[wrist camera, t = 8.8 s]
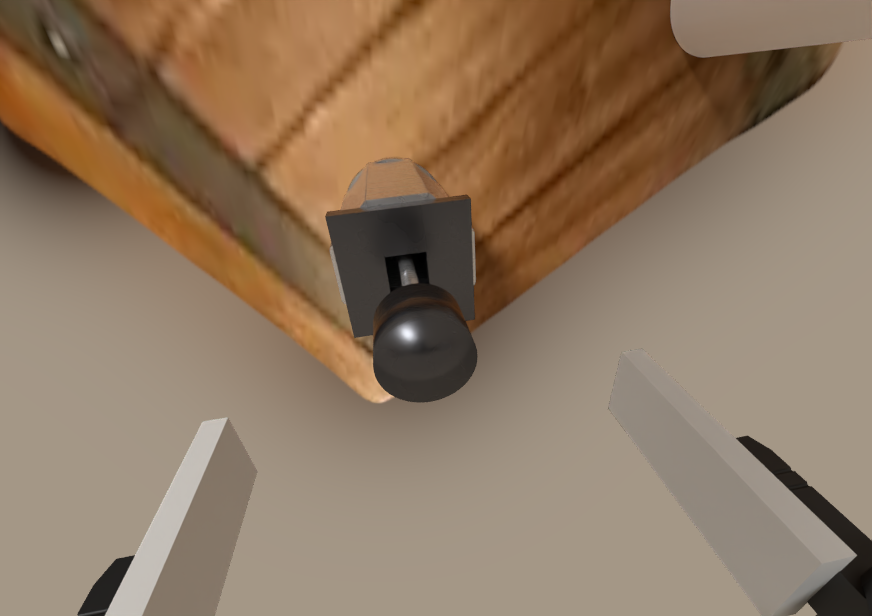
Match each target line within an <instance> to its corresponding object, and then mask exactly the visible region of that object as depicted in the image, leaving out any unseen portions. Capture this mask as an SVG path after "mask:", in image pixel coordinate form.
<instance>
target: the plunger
mask: <svg viewBox="0 0 872 616" xmlns="http://www.w3.org/2000/svg"><path fill="white" fill-rule="evenodd" d="M420 253H421V252H420ZM420 253H413V254H405V255H398V256H390V257H385V258H386V259H389V260H398V263H399V270H400V276H401V282H402V287H400V288H397V289H395V290H394V291H392V292H391V293H389V294H388V295H387V296H386V297H385V298H384V299H383V300H382V301H381V302H380V304H379V305H378V307H377V309H376V311H375V314H374V319H373V368H374V373H375V377H376V379H377V381H378V383H379V384H380V385H381V387H382V388H383V389H384V390H385V391H387V392H388V393H389V394H391V395H393V396H394V397H397V398H399V399H402V400H405V401H410V402H430V401H435V400H439V399H442V398H445V397H447V396H449V395H451V394H453V393H455V392H456V391H457V390H459V389H460V388H461V387H462V386H464V385H465V384H466V382H467V381H468V380H469V379H470V377H471V376H472V374H473V372H474V370H475V367H476V363H477V349H476V346H475V343H474V341H473V338H472V336H471V333H470V331H469V328H468V326H467V324H466V321H465V319H464V316H463V314H462V312H461V309H460V307H459V305H458V303H457V301H456V300H455V298H454V297H453V296H452V295H451V294H450V293H449V292H447V291H446V290H444V289H443V288H441V287H438V286H436V285H432V284H426V283H418V279H417V275H416V270H415V266H414V262H413V257H415V256H417V255H419V254H420Z"/></svg>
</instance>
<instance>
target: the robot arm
mask: <svg viewBox="0 0 872 616" xmlns="http://www.w3.org/2000/svg"><path fill="white" fill-rule="evenodd" d="M608 409H609V410H610V411H611V413H612V414H613V415H614V417H615V418H616V419H617V421H618V422H619V423H620V425H621V426H622V427H623V429H624V430H625V432H626V433H627V434H628V436H629V437H630V438H631V440H632V441H633V442H634V444H635V445H636V447H637V448H638V449H639V450H640V452H641V453H642V454H643V456H644V457H645V459H646V460H647V461H648V463H649V464H650V465H651V467H652V468H653V470H654V471H655V472H656V473H657V475H658V476H659V478H660V479H661V480H662V482H663V483H664V484H665V486H666V487H667V488H668V490H669V491H670V492H671V494H672V495H673V496H674V498H675V499H676V501H677V502H678V503H679V505H680V506H681V507H682V509H683V510H684V511H685V513H686V514H687V516H688V517H689V518H690V520H691V521H692V522H693V523H694V525H695V526H696V528H697V529H698V530H699V532H700V533H701V534H702V536H703V537H704V538H705V540H706V541H707V542H708V544H709V545H710V547H711V548H712V549H713V551H714V552H715V553H716V555H717V556H718V557H719V559H720V560H721V561H722V563H723V564H724V566H725V567H726V568H727V569H728V571H729V572H730V574H731V575H732V576H733V578H734V579H735V580H736V582H737V583H738V584H739V586H740V587H741V589H742V590H743V591H744V593H745V594H746V595H747V597H748V598H749V599H750V601H751V602H752V603H753V605H754V606H755V607H756V609H757V610H758V611H759V613H760V614H761V615H762V616H788V615H793V614H796V613H797V612H798V611H799V610H800V609H801V608H802V607H803V606H804V605H805V604H806V603H807V602H808V603H809V605H810V606H811V607H812V608H813V609H814V610H815V612H816V613H817V615H816V616H872V541H871V540H870V539H869V538H868V537H867V536H866V535H865V534H863V533H862V532H861V531H860V530H859V529H858V528H857V527H856V526H855V525H854V524H853V523H851V522H850V521H849V520H848V519H847V518H846V517H845V516H844V515H843V514H842V513H840V512H839V511H838V510H837V509H836V508H835V507H834V506H833V505H832V504H830V503H829V502H828V501H827V500H826V499H825V498H824V497H823V496H822V495H821V494H819V493H818V492H817V491H816V490H815V489H814V488H813V487H810V486H808V485H807V482H806V481H805V480H804V479H803V478H802V477H801V476H799V475H798V474H797V473H796V472H795V471H792V470H791V468H790V466H788V465H787V464H786V463H785V462H784V461H783V460H782V459H781V458H780V457H778V456H777V455H776V454H775V453H774V452H773V451H772V450H771V449H769V448H767V447H765V446H764V445H762V444H760V443H759V442H757V441H755V440H754V439H752V438H750V437H749V436H744V437H739V438H735V437H734V436H733V435H732V434H731V433H730V432H729V431H727V430H726V429H725V428H724V427H723V426H722V425H721V424H720V423H719V422H718V421H717V420H716V419H715V418H714V417H713V416H712V415H711V414H710V413H709V412H708V411H707V410H706V409H705V408H704V407H702V406H701V405H700V404H699V403H698V402H697V401H696V400H695V399H694V398H693V397H692V396H691V395H690V394H689V393H688V392H687V391H686V390H685V389H684V388H683V387H682V386H681V385H680V384H679V383H678V382H677V381H676V380H674V379H673V378H672V377H671V376H670V375H669V374H668V373H667V372H666V371H665V370H664V369H663V368H662V367H661V366H660V365H659V364H658V363H657V362H656V361H655V360H654V359H653V358H652V357H650V356H649V355H648V354H647V353H646V352H645V351H644V350H643V349H636V350H630V351H624V352H622V353H621V356H620V360H619V364H618V369H617V373H616V377H615V382H614V386H613V390H612V394H611V399H610V403H609V407H608ZM256 474H257V470H256V468H255V466H254V464H253V462H252V460H251V459H250V457H249V455H248V453H247V451H246V449H245V448H244V446H243V444H242V442H241V440H240V439H239V437H238V435H237V433H236V431H235V429H234V427H233V426H232V424H231V422H230V420H229V418H221V419H215V420H209V421H203V422H202V424H201V426H200V428H199V430H198V432H197V434H196V436H195V438H194V440H193V442H192V444H191V446H190V448H189V450H188V452H187V454H186V456H185V458H184V460H183V462H182V464H181V466H180V468H179V470H178V471H177V473H176V475H175V478H174V479H173V481H172V484H171V485H170V487H169V489H168V492H167V493H166V496H165V497H164V499H163V501H162V503H161V505H160V507H159V509H158V511H157V513H156V515H155V517H154V519H153V521H152V523H151V525H150V527H149V529H148V531H147V533H146V535H145V537H144V539H143V541H142V543H141V545H140V547H139V549H138V551H137V553H136V555H134V556H129V557H124V558H119V559H116V560H115V561H114V562H113V563H112V564H111V566H110V567H109V568H108V569H107V570H106V571H105V572H104V574H103V575H102V576H101V577H100V578H99V579H98V581H97V582H96V583H95V584H94V586H93V587H92V589H91V591H90V592H89V594H88V596H87V598H86V600H85V601H84V603H83V605H82V607H81V609H80V611H79V612H78V616H215V613H216V610H217V606H218V603H219V599H220V596H221V593H222V589H223V586H224V583H225V579H226V576H227V572H228V569H229V566H230V562H231V559H232V556H233V552H234V549H235V545H236V542H237V538H238V535H239V532H240V528H241V525H242V522H243V518H244V515H245V511H246V508H247V505H248V501H249V498H250V495H251V491H252V488H253V485H254V481H255V478H256Z"/></svg>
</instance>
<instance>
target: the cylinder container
mask: <svg viewBox="0 0 872 616" xmlns="http://www.w3.org/2000/svg"><path fill="white" fill-rule="evenodd" d="M670 19H671V26H672V30H673V33H674V36H675V39H676V41H677V42H678V44H679V45H680V47H681V48H682V49H683V50H684V51H686V52H687V53H689V54H691V55H693V56H696V57H702V58H705V57H714V56H723V55H732V54H741V53H750V52H758V51H767V50H776V49H785V48H794V47H803V46H812V45H820V44H829V43H838V42H847V41H856V40H865V39H872V0H671V6H670Z"/></svg>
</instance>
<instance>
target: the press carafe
mask: <svg viewBox="0 0 872 616" xmlns="http://www.w3.org/2000/svg"><path fill="white" fill-rule="evenodd" d="M325 217H326V221H327V225H328V230H329V234H330V238H331V242H332V243H331V246H330V254H331V258H332V262H333V266H334V270H335V274H336V278H337V282H338V287H339V291H340V295H341V299H342V302H343V303H344V304H346V305H347V309H348V313H349V317H350V321H351V325H352V330H353V334H354V338H356V337H362V336H369V335H373V319H374V314H375V311H376V309H377V307H378V305H379V304H380V302H381V301H382V300H383V299H384V298H385V297H386V296H387V295H388V294H389V293H391V292H392V291H394V290H395V289H397V288H400V287H402V282H401V276H400V270H399V263H398V260H389V259H386V258H385V257H390V256H398V255H405V254H413V253H420V252H421V253H420V254H419V255H417V256H415V257H413V262H414V266H415V270H416V275H417V279H418V283H426V284H432V285H436V286H438V287H441V288H443V289H444V290H446V291H447V292H449V293H450V294H451V295H452V296H453V297H454V298H455V300H456V301H457V303H458V305H459V307H460V309H461V312H462V314H463V316H464V319H465V321H467V320H474V319H475V313H474V285H475V283H476V267H475V233H474V229H473V228H472V222H471V198H470V197H469V196H468V195H461V196H453V197H449V196H448V195H447V194H446V192H445V191H444V190H443V188H442V187H441V186H440V184H438V183H437V182H436V181H435V179H434V178H433V177H432V176H431V174H430V173H429V172H428V171H427V170H425V169H424V168H423V167H421V166H420V165H418V164H416V163H415V162H413V161H412V160H411V159H408V158H405V159H402V158H386V159H381V160H378V161H375V162H369V163H367V164H366V166H365V167H364V168H363V169H362V170H361V171H360V172H359V173H358V174H357V175H356V176H355V177H354V179H353V180H352V182H351V184H350V186H349V188H348V191H347V193H346V194H345V195H344V199H343V203H342V206H341V210H338V211H330V212H327V214H326V216H325Z"/></svg>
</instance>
